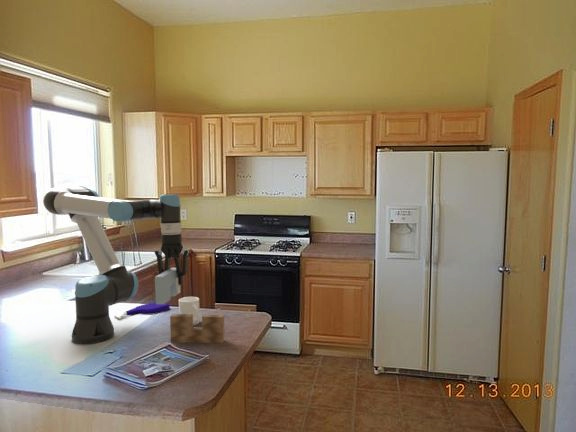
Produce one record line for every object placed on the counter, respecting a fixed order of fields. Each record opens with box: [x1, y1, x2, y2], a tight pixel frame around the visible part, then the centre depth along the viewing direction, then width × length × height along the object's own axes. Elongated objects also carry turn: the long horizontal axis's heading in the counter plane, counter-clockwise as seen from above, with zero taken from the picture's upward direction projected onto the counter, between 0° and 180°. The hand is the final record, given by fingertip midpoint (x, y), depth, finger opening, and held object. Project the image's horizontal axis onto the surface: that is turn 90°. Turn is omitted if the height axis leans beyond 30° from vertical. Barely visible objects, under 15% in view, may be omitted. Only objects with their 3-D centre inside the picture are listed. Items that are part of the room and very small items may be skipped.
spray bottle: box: [113, 301, 171, 320], centre depth 196 cm, size 3×11×24 cm
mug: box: [178, 296, 200, 327], centre depth 179 cm, size 9×12×11 cm
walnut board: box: [169, 313, 225, 344], centre depth 159 cm, size 20×3×10 cm, turn 87°
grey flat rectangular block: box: [154, 267, 178, 304], centre depth 158 cm, size 3×18×10 cm, turn 176°
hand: (173, 292), depth 164 cm, fingers closed on grey flat rectangular block, 3 cm apart
